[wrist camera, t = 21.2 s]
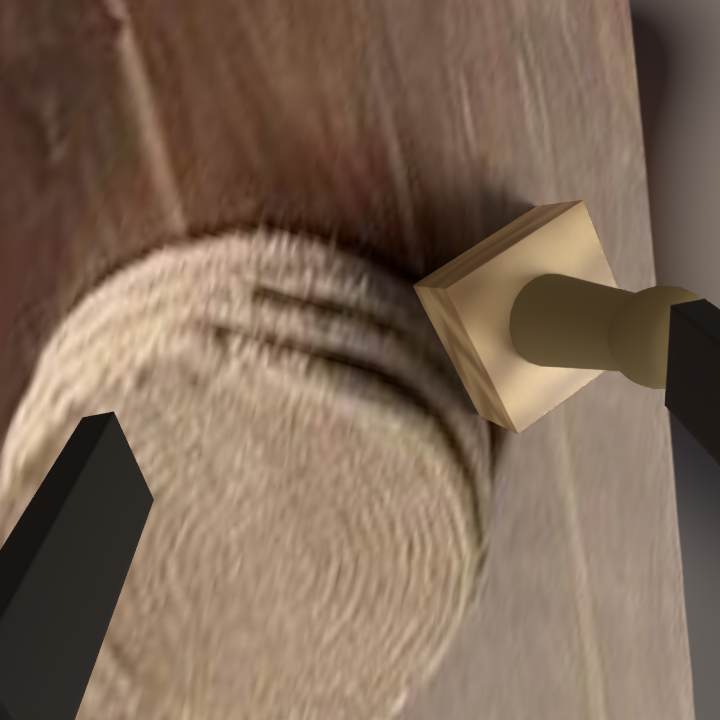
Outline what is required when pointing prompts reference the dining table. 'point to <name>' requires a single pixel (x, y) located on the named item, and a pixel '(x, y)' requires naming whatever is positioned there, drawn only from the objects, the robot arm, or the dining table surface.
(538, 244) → the riser block
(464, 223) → the dining table surface
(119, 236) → the dining table surface
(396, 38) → the dining table surface
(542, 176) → the dining table surface
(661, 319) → the olive green peg figure
